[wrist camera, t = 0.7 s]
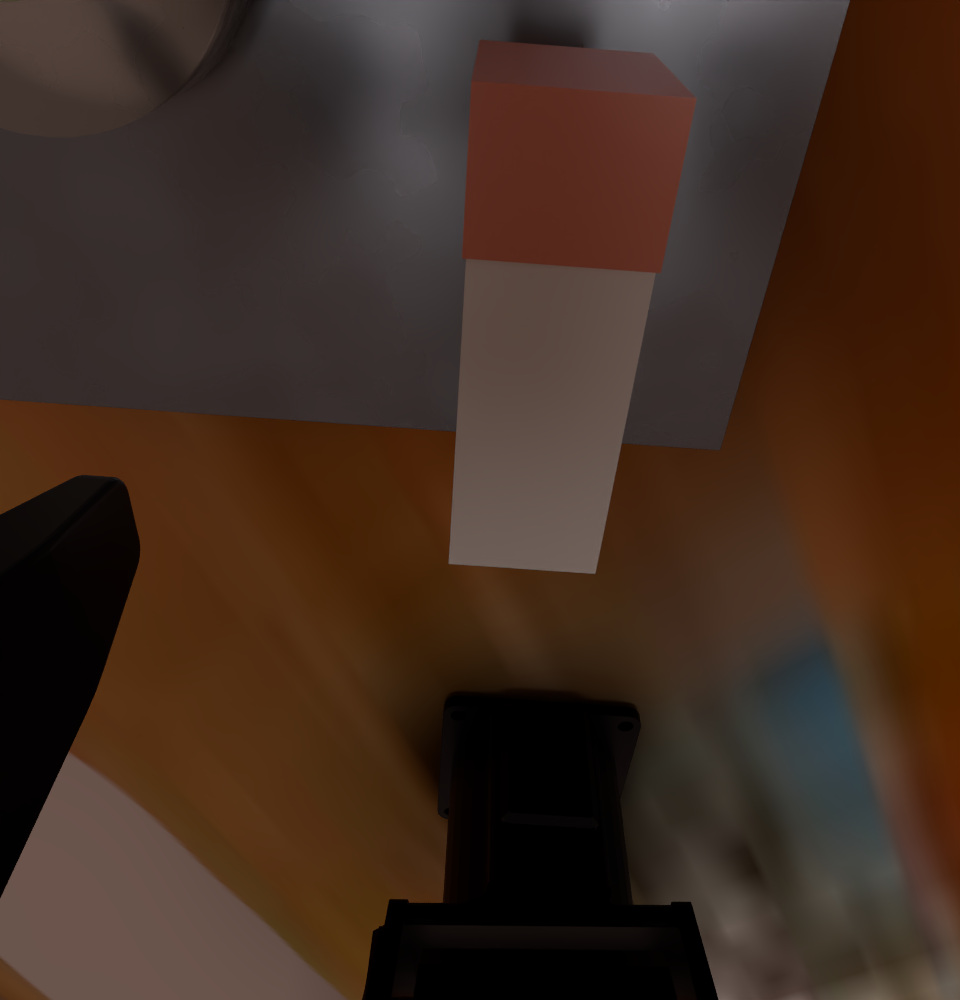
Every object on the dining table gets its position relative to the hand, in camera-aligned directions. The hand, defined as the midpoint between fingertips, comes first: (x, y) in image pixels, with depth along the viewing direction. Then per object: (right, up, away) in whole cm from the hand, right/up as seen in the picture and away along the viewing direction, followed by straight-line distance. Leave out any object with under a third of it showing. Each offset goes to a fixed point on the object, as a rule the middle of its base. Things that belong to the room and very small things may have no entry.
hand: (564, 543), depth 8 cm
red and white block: (0, +6, +8) cm, 10 cm away
